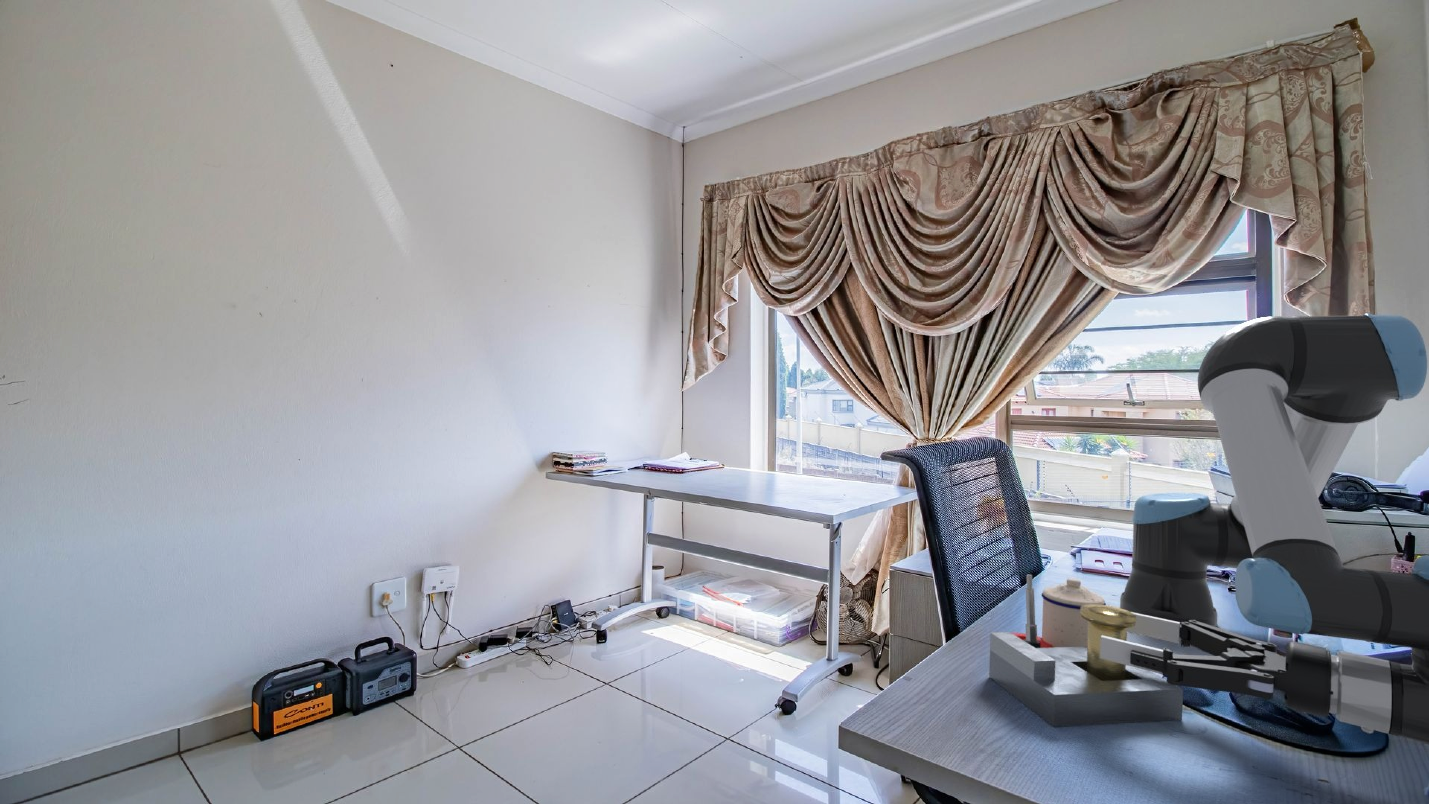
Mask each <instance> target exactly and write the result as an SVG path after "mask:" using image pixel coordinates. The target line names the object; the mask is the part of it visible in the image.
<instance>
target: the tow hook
mask: <svg viewBox="0 0 1429 804" xmlns="http://www.w3.org/2000/svg"><path fill="white" fill-rule="evenodd" d="M1035 608H1036V607H1035V588H1033V575H1032V574H1026V587H1025V613H1026V623H1025V633H1021V632H1020V633H1019V632H1011V633H1012V634H1014V635H1015V636H1017V637H1018V638H1020V639H1022V640H1023V641H1025V642H1027V643H1028V644H1030V645H1031V646H1033V647H1035V648H1052V645H1050V644H1048V643H1046V642H1045V641H1043V639H1042V636H1039V635H1038V627H1037V625H1038V624H1036V611H1035V610H1036V609H1035Z"/></svg>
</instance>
